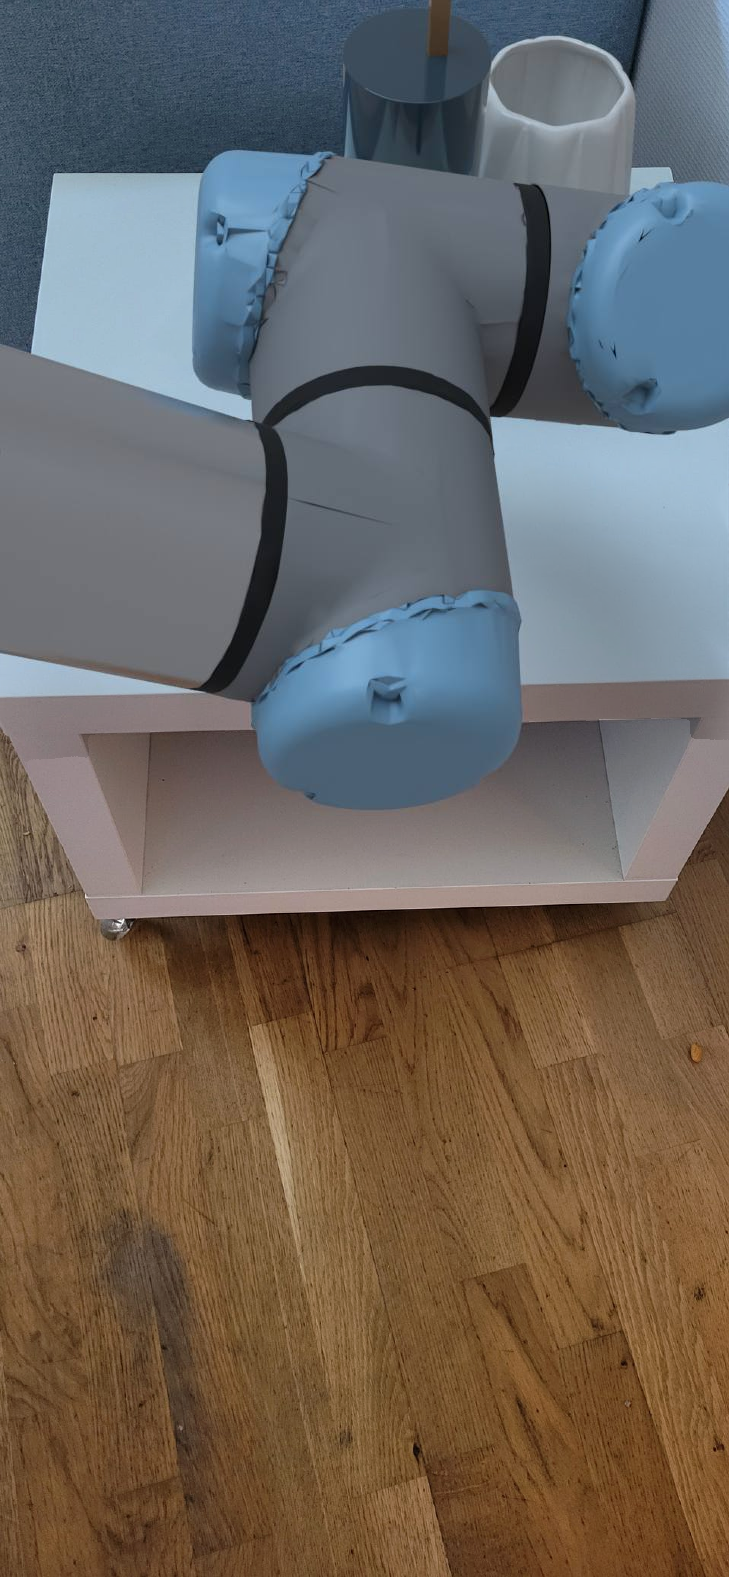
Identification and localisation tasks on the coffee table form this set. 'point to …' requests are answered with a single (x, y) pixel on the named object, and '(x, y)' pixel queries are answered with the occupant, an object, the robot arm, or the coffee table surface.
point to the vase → (559, 117)
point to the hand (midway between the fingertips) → (433, 345)
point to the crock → (416, 90)
